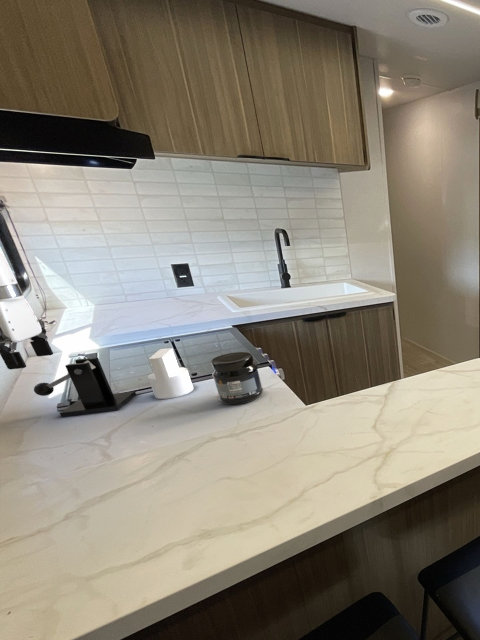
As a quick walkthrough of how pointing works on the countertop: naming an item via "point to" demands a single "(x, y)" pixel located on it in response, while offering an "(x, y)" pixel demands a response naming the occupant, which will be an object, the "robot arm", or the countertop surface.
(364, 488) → the countertop surface
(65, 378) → the tap lever
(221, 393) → the supplement container
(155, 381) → the base with upright slab
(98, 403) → the bracket
